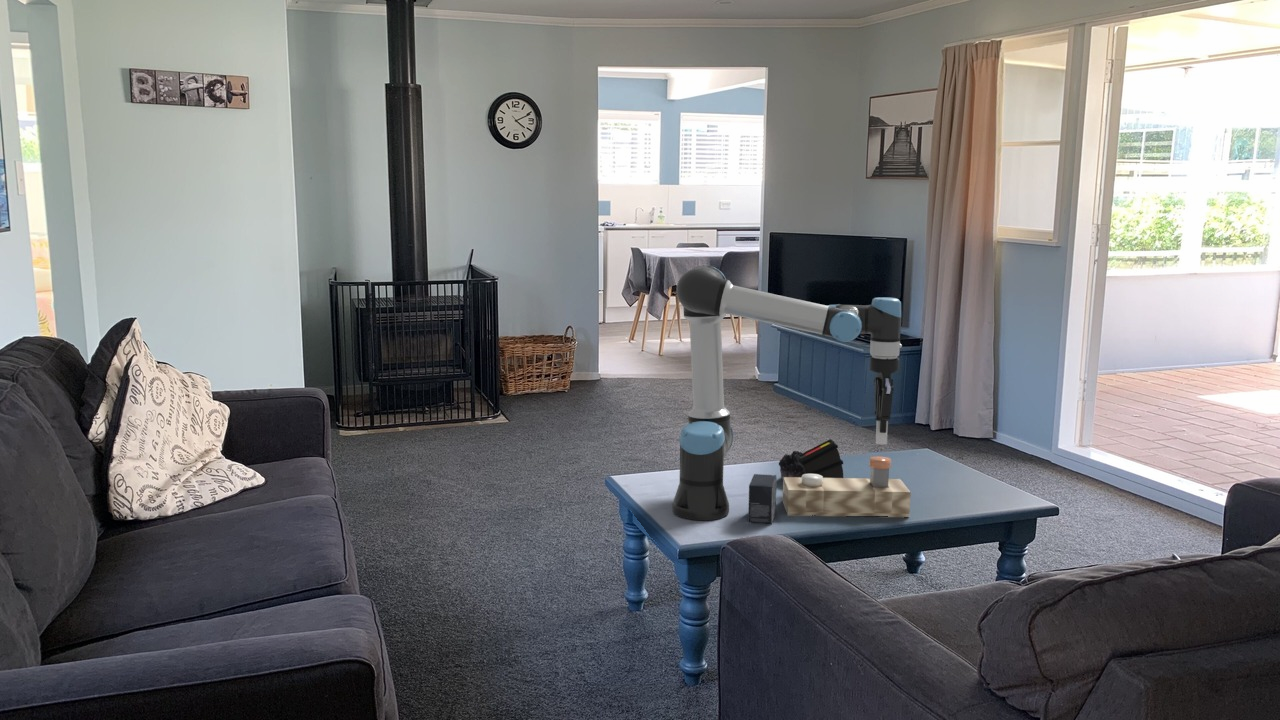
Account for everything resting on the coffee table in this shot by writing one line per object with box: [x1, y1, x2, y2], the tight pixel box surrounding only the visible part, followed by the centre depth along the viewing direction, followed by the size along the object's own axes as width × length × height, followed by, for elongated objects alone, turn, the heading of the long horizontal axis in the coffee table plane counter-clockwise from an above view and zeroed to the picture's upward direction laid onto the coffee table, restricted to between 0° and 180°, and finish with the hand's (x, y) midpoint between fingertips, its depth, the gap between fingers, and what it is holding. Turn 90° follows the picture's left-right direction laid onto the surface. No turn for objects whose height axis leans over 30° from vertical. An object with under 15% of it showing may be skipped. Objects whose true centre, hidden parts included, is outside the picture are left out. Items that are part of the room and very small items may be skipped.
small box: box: [748, 473, 777, 526], centre depth 255 cm, size 11×6×10 cm, turn 166°
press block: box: [782, 477, 912, 518], centre depth 262 cm, size 32×12×7 cm, turn 88°
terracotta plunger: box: [868, 455, 892, 488], centre depth 261 cm, size 6×6×8 cm
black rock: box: [778, 450, 804, 481], centre depth 289 cm, size 13×14×10 cm
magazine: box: [798, 438, 845, 478], centre depth 278 cm, size 4×13×15 cm, turn 99°
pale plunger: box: [801, 474, 823, 487], centre depth 262 cm, size 6×6×8 cm
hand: (881, 443), depth 259 cm, fingers closed
